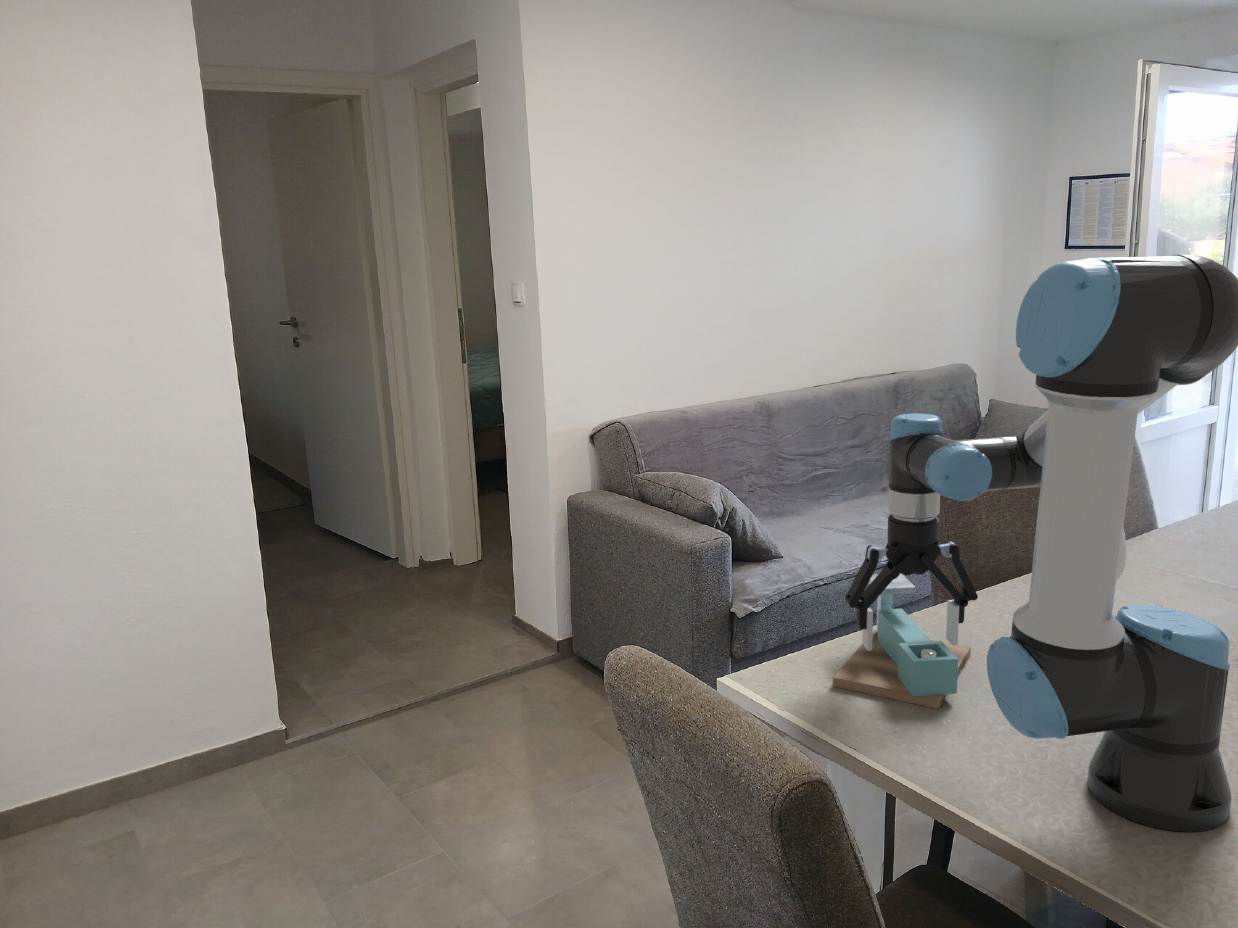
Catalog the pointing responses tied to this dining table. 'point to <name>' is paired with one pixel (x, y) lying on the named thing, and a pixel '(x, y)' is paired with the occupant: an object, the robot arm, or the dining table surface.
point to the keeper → (892, 592)
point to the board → (887, 674)
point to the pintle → (928, 653)
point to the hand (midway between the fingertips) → (909, 644)
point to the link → (916, 655)
